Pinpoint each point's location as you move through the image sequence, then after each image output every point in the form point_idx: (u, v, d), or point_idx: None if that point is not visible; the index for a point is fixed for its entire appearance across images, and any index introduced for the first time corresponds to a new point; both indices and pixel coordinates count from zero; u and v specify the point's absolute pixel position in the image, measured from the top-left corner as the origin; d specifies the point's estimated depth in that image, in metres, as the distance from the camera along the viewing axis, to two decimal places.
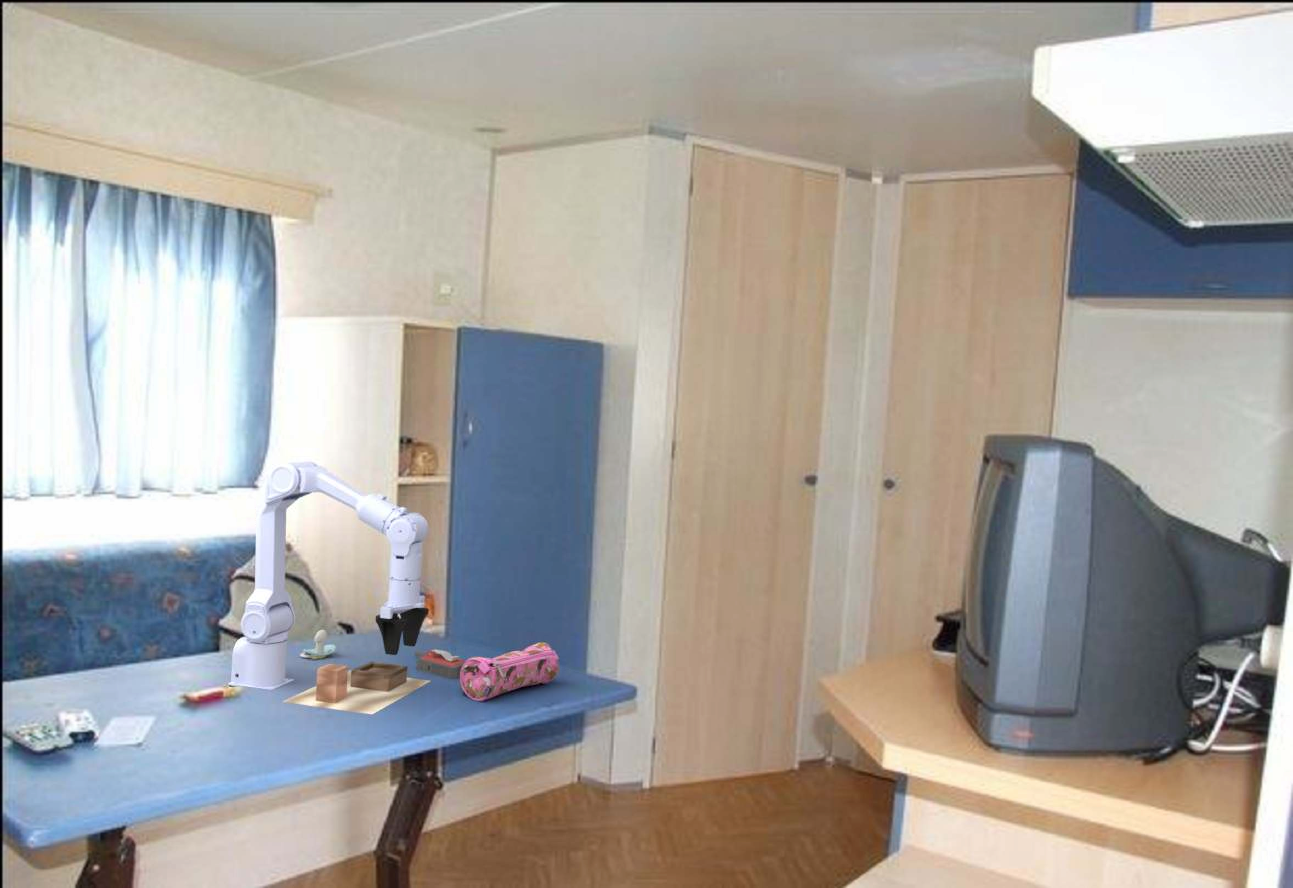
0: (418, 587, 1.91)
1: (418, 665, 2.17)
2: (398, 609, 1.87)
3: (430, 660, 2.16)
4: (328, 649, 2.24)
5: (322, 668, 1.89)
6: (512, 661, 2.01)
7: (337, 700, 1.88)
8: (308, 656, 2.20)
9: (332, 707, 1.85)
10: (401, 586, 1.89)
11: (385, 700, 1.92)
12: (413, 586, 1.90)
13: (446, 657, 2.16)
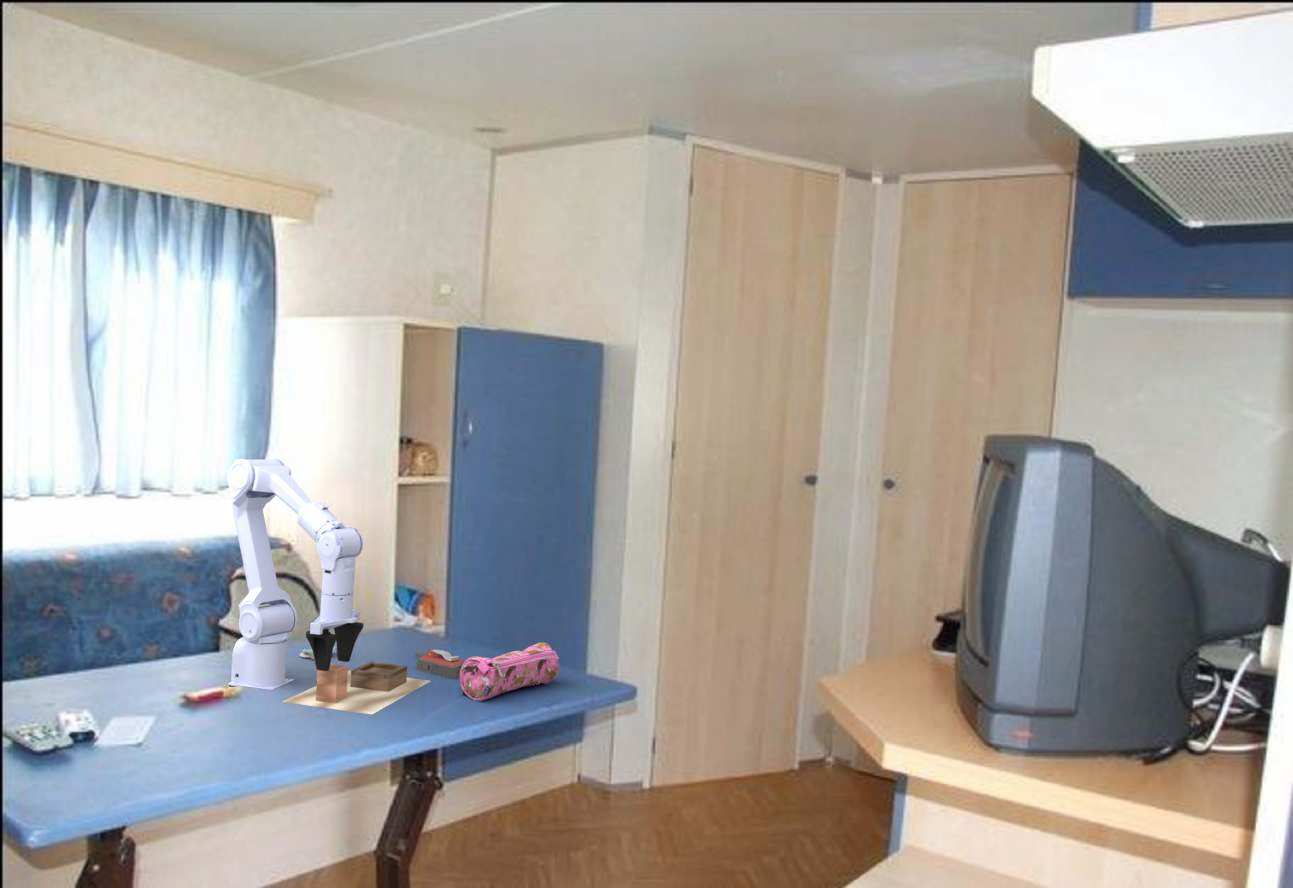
0: (350, 602, 1.89)
1: (418, 665, 2.17)
2: (329, 624, 1.84)
3: (430, 660, 2.16)
4: None
5: None
6: (512, 661, 2.01)
7: (337, 700, 1.88)
8: (307, 656, 2.20)
9: (332, 707, 1.85)
10: (332, 601, 1.87)
11: (385, 700, 1.92)
12: (345, 601, 1.87)
13: (446, 657, 2.16)
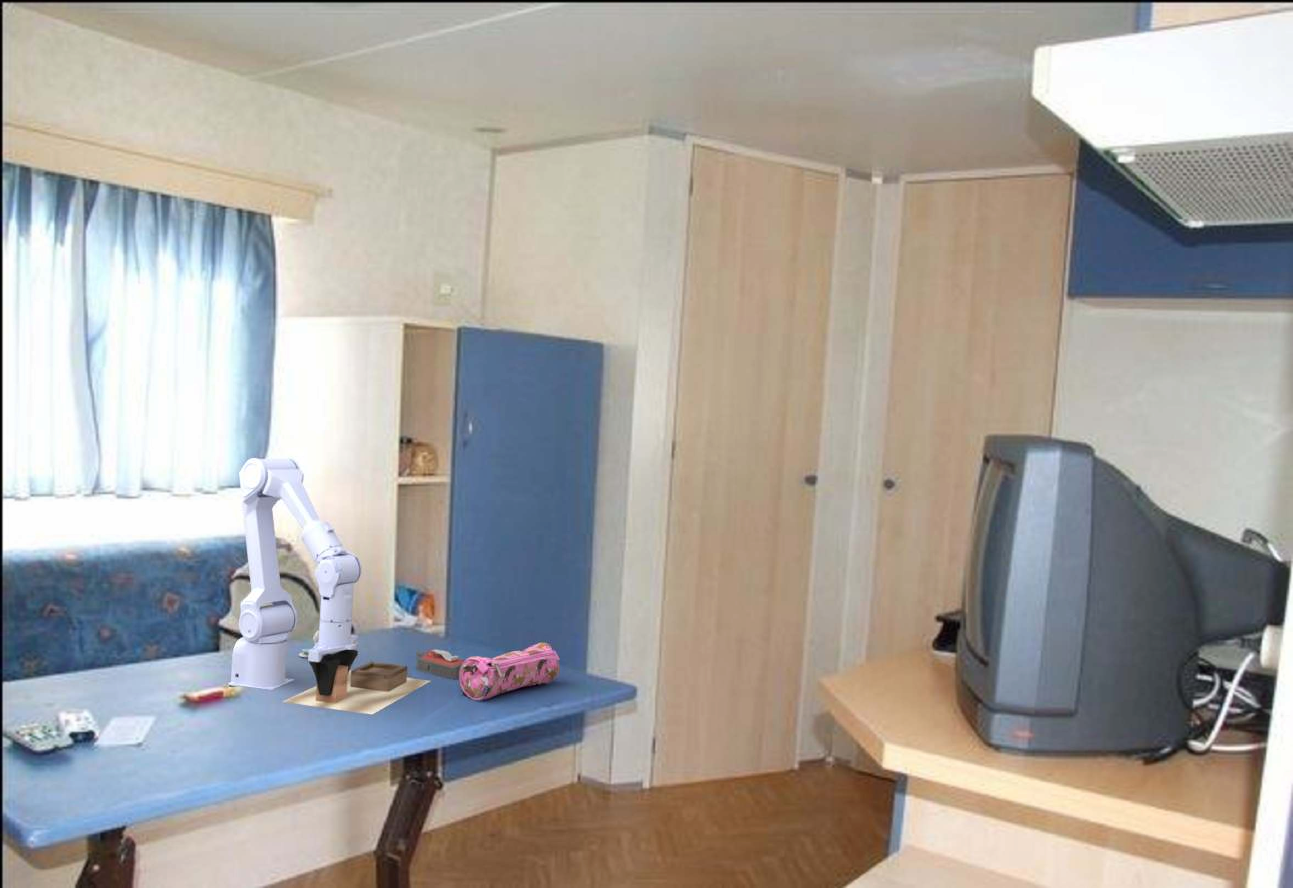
0: (349, 628, 1.89)
1: (418, 665, 2.17)
2: (327, 652, 1.84)
3: (430, 660, 2.16)
4: None
5: None
6: (511, 661, 2.01)
7: (337, 700, 1.88)
8: (307, 656, 2.20)
9: (332, 707, 1.85)
10: (331, 628, 1.87)
11: (385, 700, 1.92)
12: (343, 627, 1.88)
13: (446, 657, 2.16)
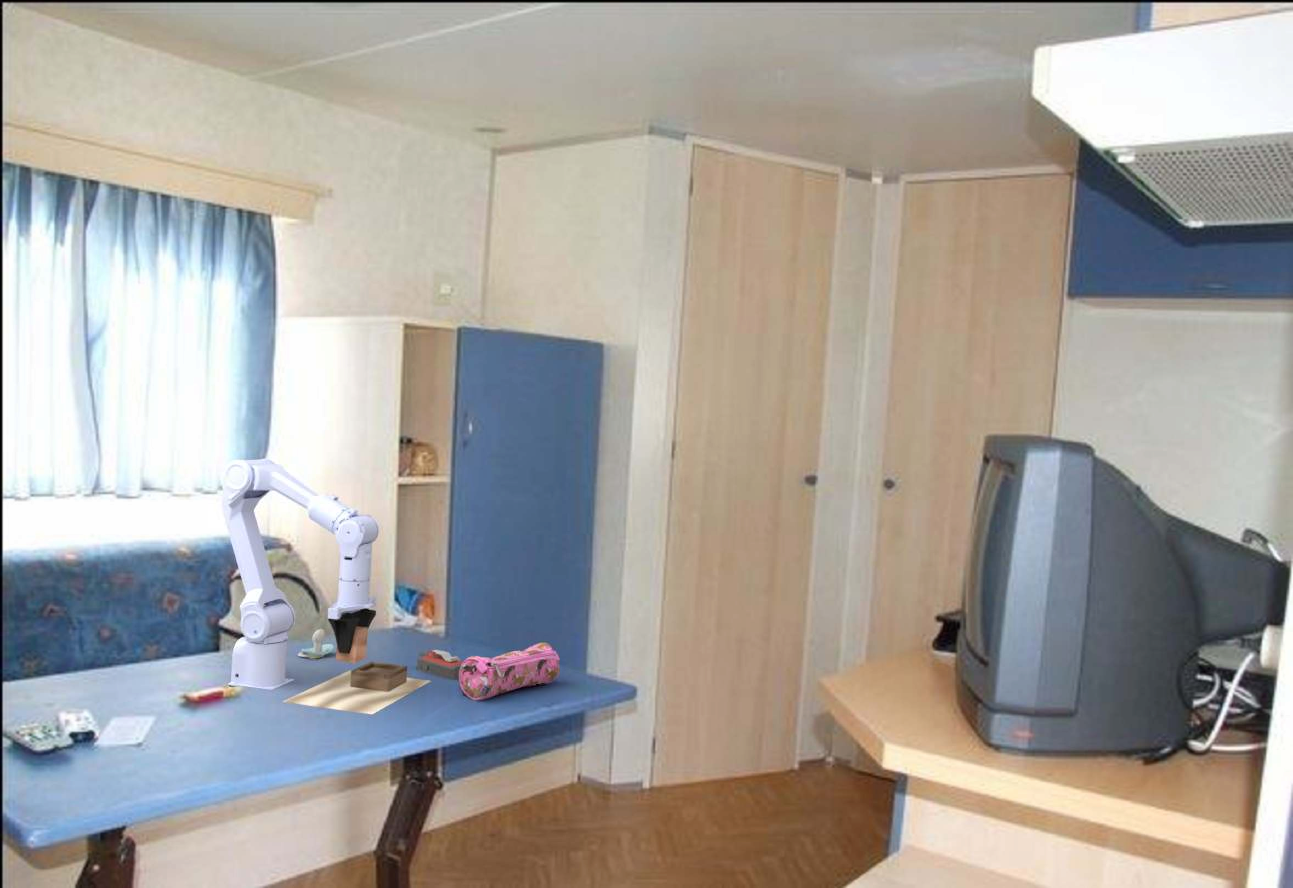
0: (367, 588, 1.93)
1: (418, 665, 2.17)
2: (346, 610, 1.88)
3: (430, 660, 2.16)
4: (326, 648, 2.24)
5: None
6: (511, 661, 2.01)
7: (357, 660, 1.92)
8: (306, 655, 2.21)
9: (332, 707, 1.85)
10: (350, 587, 1.91)
11: (385, 700, 1.92)
12: (362, 587, 1.91)
13: (445, 658, 2.16)
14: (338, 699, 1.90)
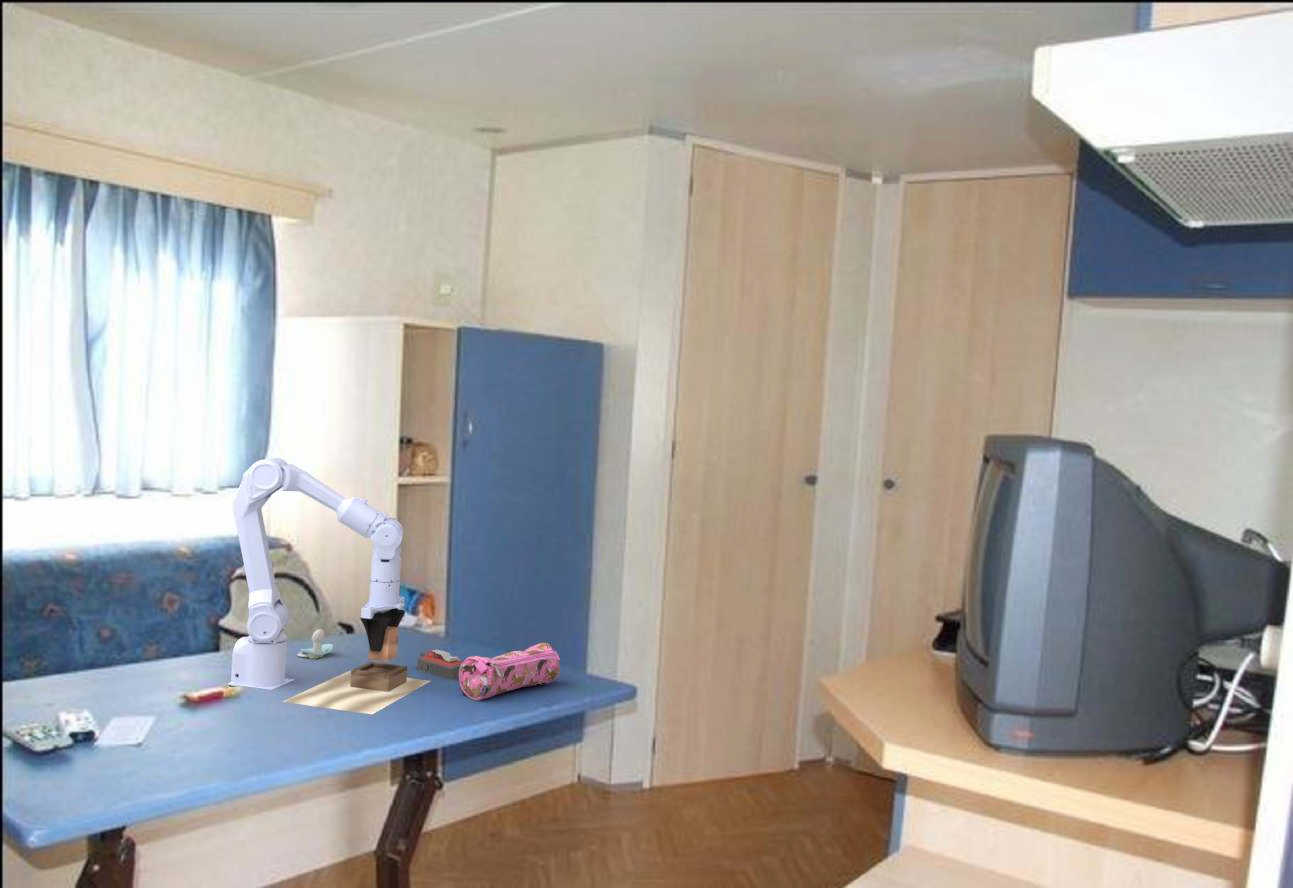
0: (397, 588, 2.01)
1: (418, 665, 2.17)
2: (378, 609, 1.96)
3: (430, 660, 2.16)
4: (325, 648, 2.25)
5: None
6: (511, 661, 2.01)
7: (389, 659, 2.00)
8: (306, 655, 2.21)
9: (332, 707, 1.85)
10: (381, 588, 1.99)
11: (385, 700, 1.92)
12: (392, 587, 1.99)
13: (445, 657, 2.16)
14: (338, 699, 1.90)
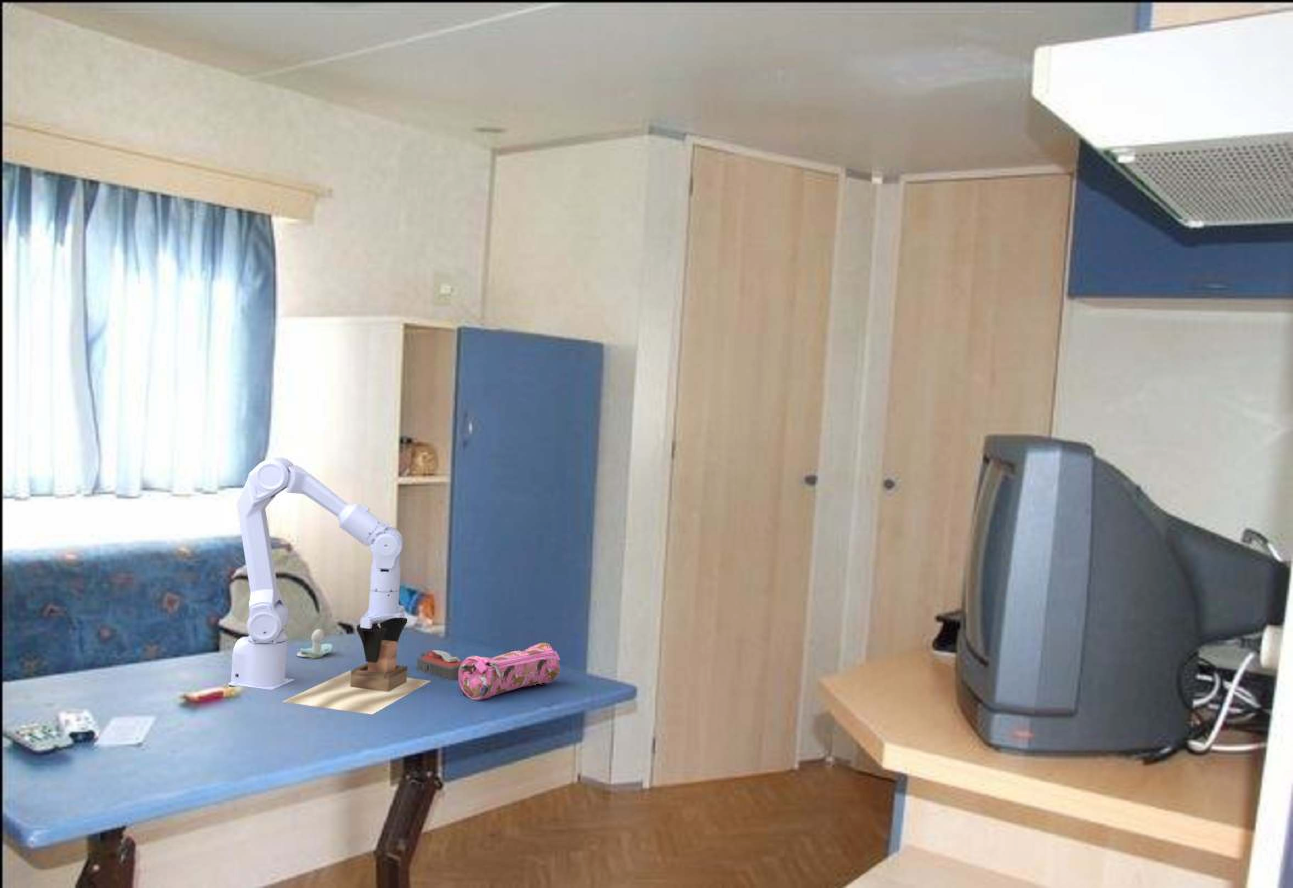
0: (397, 598, 2.01)
1: (418, 665, 2.17)
2: (377, 619, 1.96)
3: (429, 661, 2.15)
4: (325, 648, 2.25)
5: None
6: (510, 661, 2.01)
7: None
8: (305, 655, 2.21)
9: (332, 707, 1.85)
10: (380, 597, 1.99)
11: (385, 700, 1.92)
12: (392, 597, 2.00)
13: (445, 658, 2.15)
14: (338, 699, 1.90)
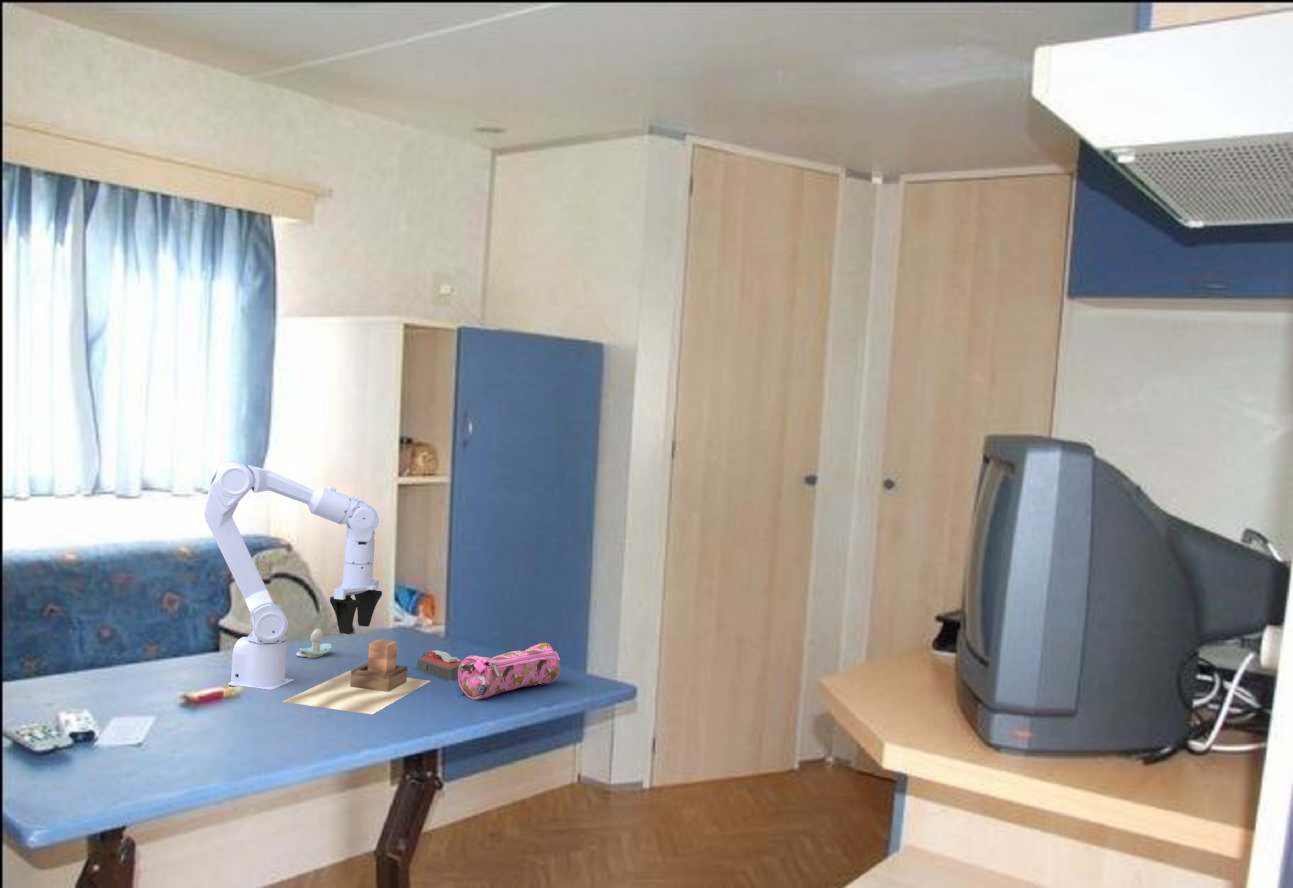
0: (371, 570, 2.04)
1: (418, 665, 2.17)
2: (351, 591, 2.00)
3: (429, 661, 2.15)
4: (324, 648, 2.25)
5: (373, 643, 2.00)
6: (510, 661, 2.01)
7: None
8: (304, 655, 2.21)
9: (332, 707, 1.85)
10: (354, 569, 2.02)
11: (385, 700, 1.92)
12: (366, 569, 2.03)
13: (444, 658, 2.15)
14: (338, 699, 1.90)
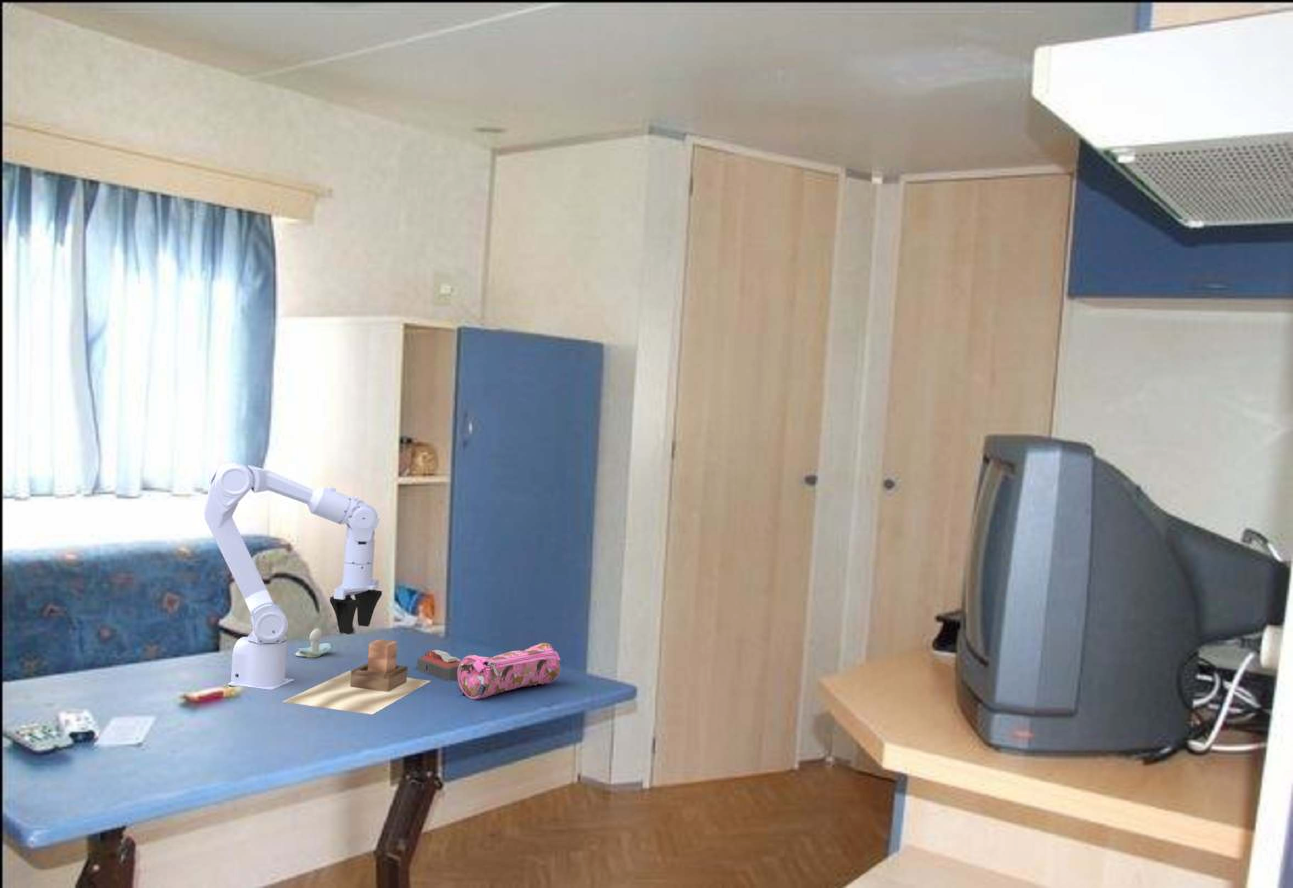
0: (371, 570, 2.04)
1: (418, 665, 2.17)
2: (351, 591, 2.00)
3: (429, 660, 2.15)
4: (323, 648, 2.25)
5: (373, 643, 2.00)
6: (509, 661, 2.02)
7: None
8: (303, 655, 2.21)
9: (332, 707, 1.85)
10: (354, 569, 2.02)
11: (385, 700, 1.92)
12: (365, 569, 2.03)
13: (444, 658, 2.15)
14: (338, 699, 1.90)
